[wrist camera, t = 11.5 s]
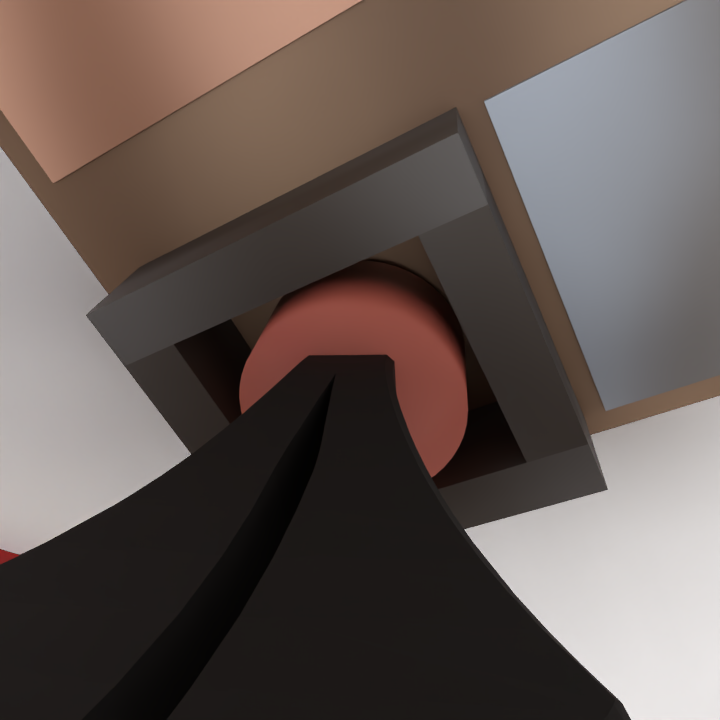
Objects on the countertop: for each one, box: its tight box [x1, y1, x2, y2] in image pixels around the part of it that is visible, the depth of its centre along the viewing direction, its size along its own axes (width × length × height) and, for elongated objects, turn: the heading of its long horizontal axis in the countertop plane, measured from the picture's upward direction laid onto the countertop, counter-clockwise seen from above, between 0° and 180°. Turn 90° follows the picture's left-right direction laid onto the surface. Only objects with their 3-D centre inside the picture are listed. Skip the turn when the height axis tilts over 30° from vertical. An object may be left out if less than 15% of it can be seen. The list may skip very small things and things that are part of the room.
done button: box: [239, 261, 468, 478], centre depth 11 cm, size 4×4×2 cm
